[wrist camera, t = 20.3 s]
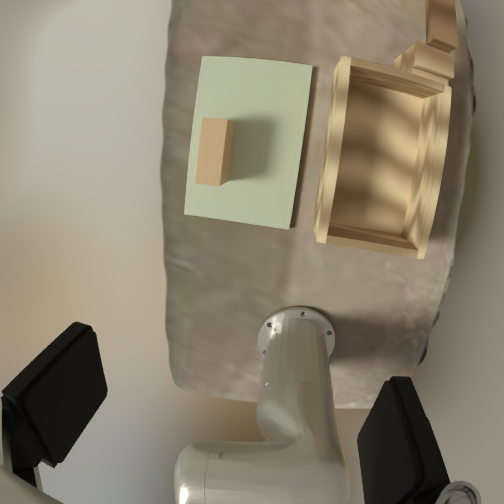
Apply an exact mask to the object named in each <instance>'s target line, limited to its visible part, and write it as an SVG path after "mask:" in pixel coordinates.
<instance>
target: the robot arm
mask: <svg viewBox="0 0 504 504" xmlns="http://www.w3.org/2000/svg"><path fill="white" fill-rule="evenodd" d="M302 312H304V313H302ZM334 346H335V332H334V329H333V326H332V324H331V323H330V321H329V320H328V319H327V318H326V317H325V316H324V315H323V314H321V313H320V312H318V311H316V310H313V309H310V308H306V307H289V308H285V309H282V310H279V311H277V312H275V313H273V314H272V315H270V316H269V317H268V318H267V319H266V320H265V321H264V322H263V324H262V326H261V328H260V330H259V334H258V348H259V351H260V353H261V355H262V356H263V358H264V366H263V372H262V379H261V386H260V392H259V399H258V406H257V422H258V426H259V429H260V431H261V432H262V434H263V436H264V437H265V439H266V440H267V441H263V442H262V441H261V442H260V441H259V442H224V441H199V442H194V443H191V444H189V445H187V446H186V447H185V448H184V449H183V450H182V451H181V453H180V455H179V457H178V460H177V463H176V467H175V476H174V488H175V501H176V504H346V503H347V501H348V498H349V494H350V475H349V470H348V467H347V463H346V460H345V457H344V454H343V450H342V447H341V444H340V439H339V435H338V430H337V425H336V417H335V408H334V400H333V390H332V382H331V374H330V367H329V359H328V358H329V356H330V355H331V354H332V352H333V349H334ZM2 393H3V396H2V397H1V398H0V504H63V503H61V502H59V501H58V500H56V499H54V498H52V497H51V496H49V495H47V494H45V493H44V492H43V489H42V484H41V479H40V474H39V469H38V464H39V463H40V462H41V461H42V462H44V463H46V464H47V465H49V466H51V467H53V468H55V466H56V465H57V463H61V462H63V461H64V459H65V458H66V456H67V455H68V453H69V451H70V450H71V448H72V447H73V445H74V444H75V442H76V441H77V439H78V438H79V436H80V435H81V433H82V432H83V430H84V429H85V427H86V426H87V424H88V423H89V421H90V420H91V418H92V417H93V416H94V414H95V413H96V411H97V410H98V408H99V407H100V405H101V404H102V402H103V401H104V399H105V398H106V396H107V384H106V380H105V376H104V372H103V367H102V362H101V357H100V353H99V347H98V342H97V336H96V333H95V332H94V331H93V329H92V327H91V326H89V325H86V324H83V323H80V322H74V323H72V324H71V325H70V326H69V327H68V328H67V329H66V330H65V331H64V332H63V333H61V334H60V335H59V336H58V337H57V338H56V339H55V340H54V341H53V342H52V343H51V344H50V345H48V346H47V348H45V349H44V350H43V351H42V352H41V353H40V354H39V355H38V356H37V357H36V358H35V359H34V360H33V361H32V362H31V363H30V364H29V365H28V366H26V367H25V368H24V369H23V370H22V371H21V372H20V373H19V374H18V375H17V376H16V377H15V378H14V379H13V380H12V381H11V382H10V383H9V384H8V385H7V386H6V387H5V388H4V389H3V390H2ZM357 444H358V451H359V459H360V467H361V474H362V483H363V491H364V500H365V504H481V497H480V494H479V492H478V490H477V489H476V488H475V487H474V486H473V485H472V484H470V483H468V482H465V481H455V482H452V483H450V480H449V477H448V474H447V471H446V467H445V464H444V461H443V459H442V456H441V452H440V450H439V447H438V444H437V441H436V438H435V436H434V433H433V430H432V427H431V425H430V422H429V420H428V418H427V417H426V415H425V413H424V410H423V407H422V405H421V402H420V400H419V397H418V395H417V392H416V390H415V387H414V385H413V382H412V380H411V378H410V377H403V376H393V377H391V378H390V380H389V381H385V382H384V384H383V386H382V388H381V391H380V393H379V395H378V397H377V399H376V401H375V403H374V405H373V407H372V409H371V411H370V413H369V415H368V417H367V419H366V421H365V423H364V425H363V427H362V428H361V430H360V432H359V435H358V439H357Z"/></svg>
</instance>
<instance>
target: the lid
mask: <svg viewBox="0 0 504 504" xmlns="http://www.w3.org/2000/svg"><path fill="white" fill-rule="evenodd" d="M311 75H312V66H311V65H304V64H298V63H290V62H282V61H274V60H264V59H253V58H239V57H218V56H202V62H201V69H200V75H199V82H198V89H197V96H196V103H195V111H194V119H193V127H192V136H191V145H190V154H189V164H188V175H187V186H186V198H185V211H184V214H187V215H194V216H202V217H209V218H216V219H222V220H229V221H236V222H243V223H249V224H256V225H262V226H269V227H275V228H281V229H288V230H289V227H290V221H291V215H292V209H293V202H294V196H295V190H296V183H297V177H298V170H299V163H300V156H301V150H302V143H303V135H304V128H305V121H306V114H307V106H308V98H309V91H310V83H311Z"/></svg>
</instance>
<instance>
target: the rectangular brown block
mask: <svg viewBox="0 0 504 504" xmlns="http://www.w3.org/2000/svg"><path fill="white" fill-rule="evenodd" d="M425 11H426V45H429V46H432V47H435V48H437V49H440V50H442V51H445V52H447V53H449V52H451V51H452V50H454V49H456V48H458V46H457V24H456V11H455V0H425Z"/></svg>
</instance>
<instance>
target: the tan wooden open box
mask: <svg viewBox="0 0 504 504" xmlns="http://www.w3.org/2000/svg"><path fill="white" fill-rule="evenodd" d="M453 78H454V55H453V54H451V53H447V52H445V51H442V50H440V49H437V48H435V47H432V46H429V45H426V44H425V43H422V42H419V41H417V42H416V43H415V44H414V45H412V46H411V47H410V48H408V49H407V50H406V51H405V52H403V53H402V54H401V55H400V56H398V57H397V58H396V59H395V60H394V67H393V68H392V67H389V66H385V65H381V64H377V63H373V62H369V61H365V60H361V59H356V58H351V57H347V56H342V57H341V59H340V61H339V63H338V64H337V66H336V68H335V70H334V71H333V81H332V90H331V99H330V108H329V116H328V124H327V132H326V140H325V147H324V155H323V162H322V169H321V176H320V182H319V189H318V195H317V202H316V208H315V214H314V220H313V229H314V233H315V236H316V240H317V242H319V243H326V244H332V245H338V246H345V247H351V248H357V249H364V250H370V251H376V252H382V253H388V254H394V255H400V256H406V257H412V258H418V259H424V255H425V252H426V248H427V244H428V240H429V236H430V232H431V228H432V224H433V219H434V215H435V210H436V206H437V201H438V196H439V191H440V185H441V180H442V174H443V167H444V161H445V154H446V146H447V138H448V129H449V119H450V107H451V90H452V87H450V86H448V81H449V80H450V79H453Z"/></svg>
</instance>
